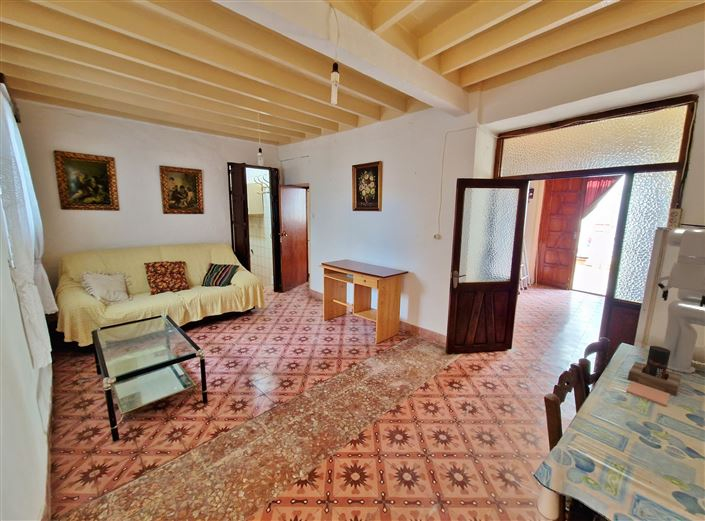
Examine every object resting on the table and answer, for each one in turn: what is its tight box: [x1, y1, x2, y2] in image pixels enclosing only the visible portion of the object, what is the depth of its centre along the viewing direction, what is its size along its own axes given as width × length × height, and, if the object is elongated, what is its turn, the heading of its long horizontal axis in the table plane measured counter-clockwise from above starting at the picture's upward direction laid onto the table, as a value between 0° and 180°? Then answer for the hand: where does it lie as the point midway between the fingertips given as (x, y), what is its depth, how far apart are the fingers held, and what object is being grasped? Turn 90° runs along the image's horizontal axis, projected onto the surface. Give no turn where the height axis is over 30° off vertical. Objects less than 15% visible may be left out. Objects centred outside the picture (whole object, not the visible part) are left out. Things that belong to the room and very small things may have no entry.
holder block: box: [627, 361, 682, 397], centre depth 122 cm, size 14×14×4 cm
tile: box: [626, 381, 671, 408], centre depth 114 cm, size 11×11×1 cm
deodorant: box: [645, 345, 670, 380], centre depth 121 cm, size 6×6×15 cm
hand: (682, 303), depth 115 cm, fingers open, 9 cm apart
